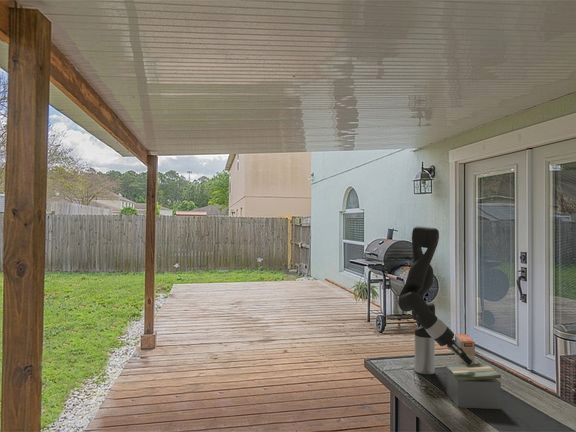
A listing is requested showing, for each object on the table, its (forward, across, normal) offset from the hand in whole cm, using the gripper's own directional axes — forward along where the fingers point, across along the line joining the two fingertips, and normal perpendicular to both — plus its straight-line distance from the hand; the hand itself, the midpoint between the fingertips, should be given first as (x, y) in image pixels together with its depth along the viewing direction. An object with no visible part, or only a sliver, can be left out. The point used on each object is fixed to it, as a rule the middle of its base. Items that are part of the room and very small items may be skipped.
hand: (470, 363), depth 170 cm
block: (+11, 0, +10) cm, 15 cm away
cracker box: (+14, +18, +8) cm, 24 cm away
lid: (+3, 0, +2) cm, 4 cm away
